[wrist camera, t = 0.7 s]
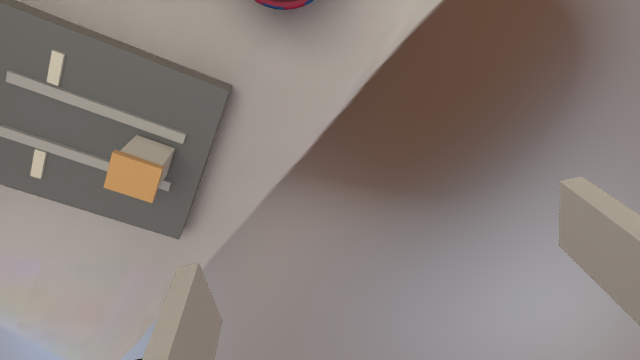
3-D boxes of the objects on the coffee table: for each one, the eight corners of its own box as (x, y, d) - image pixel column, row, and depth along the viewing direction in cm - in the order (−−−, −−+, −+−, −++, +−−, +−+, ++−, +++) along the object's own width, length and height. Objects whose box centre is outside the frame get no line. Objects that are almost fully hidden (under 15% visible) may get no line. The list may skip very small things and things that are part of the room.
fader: (126, 162, 35) (103, 187, 31) (134, 131, 34) (112, 152, 30) (168, 177, 36) (152, 203, 31) (178, 146, 35) (162, 169, 30)
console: (-56, 152, 36) (-87, 167, 33) (-40, -21, 31) (-75, -22, 28) (184, 227, 40) (175, 247, 37) (232, 85, 35) (226, 94, 32)
